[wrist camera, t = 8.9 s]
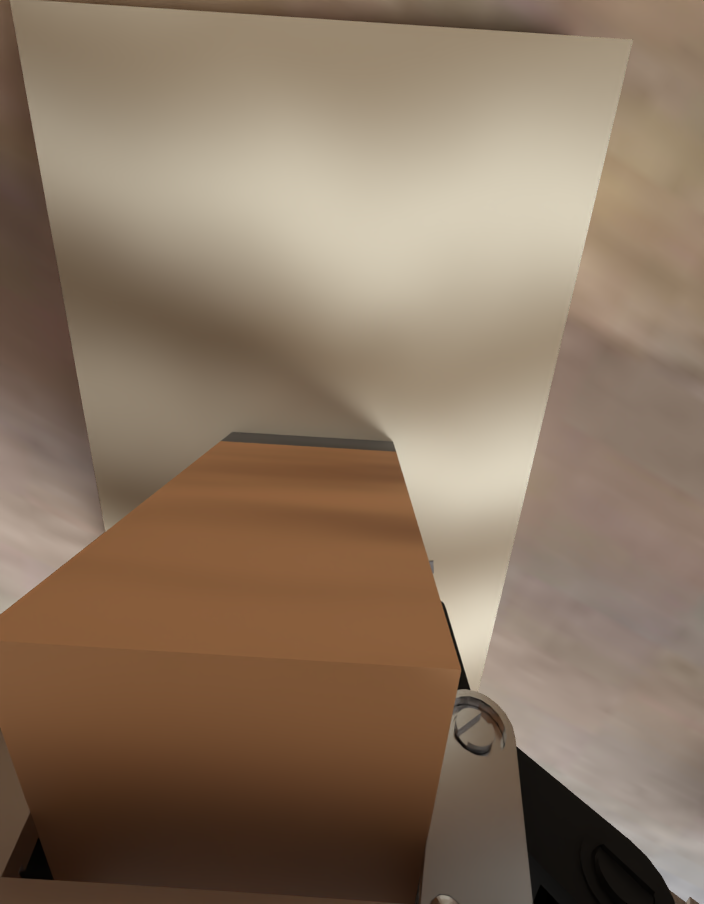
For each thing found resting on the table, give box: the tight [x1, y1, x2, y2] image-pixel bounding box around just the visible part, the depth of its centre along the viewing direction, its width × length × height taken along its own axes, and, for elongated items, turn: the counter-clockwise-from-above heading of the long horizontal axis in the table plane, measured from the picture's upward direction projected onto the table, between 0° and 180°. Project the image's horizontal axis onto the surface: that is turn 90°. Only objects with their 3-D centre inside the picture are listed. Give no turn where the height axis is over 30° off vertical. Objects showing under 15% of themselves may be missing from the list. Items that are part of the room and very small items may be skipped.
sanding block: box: [0, 432, 461, 904], centre depth 9 cm, size 8×5×8 cm, turn 177°
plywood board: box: [10, 0, 633, 692], centre depth 13 cm, size 26×14×2 cm, turn 176°
